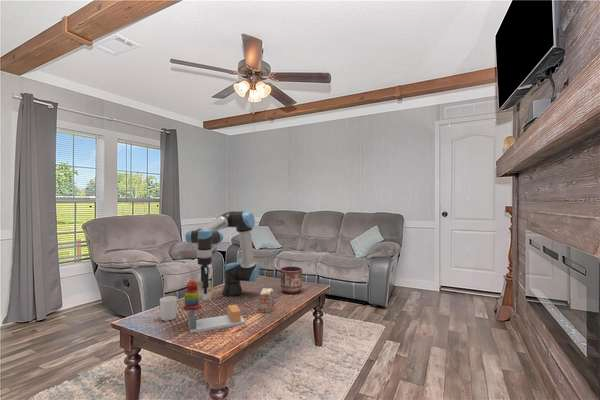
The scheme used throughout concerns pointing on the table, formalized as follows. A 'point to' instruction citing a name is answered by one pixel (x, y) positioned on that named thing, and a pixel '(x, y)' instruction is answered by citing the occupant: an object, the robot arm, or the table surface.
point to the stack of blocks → (266, 300)
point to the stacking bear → (191, 296)
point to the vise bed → (210, 322)
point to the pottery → (291, 279)
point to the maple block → (200, 290)
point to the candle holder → (168, 308)
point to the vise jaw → (234, 313)
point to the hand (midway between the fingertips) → (204, 297)
